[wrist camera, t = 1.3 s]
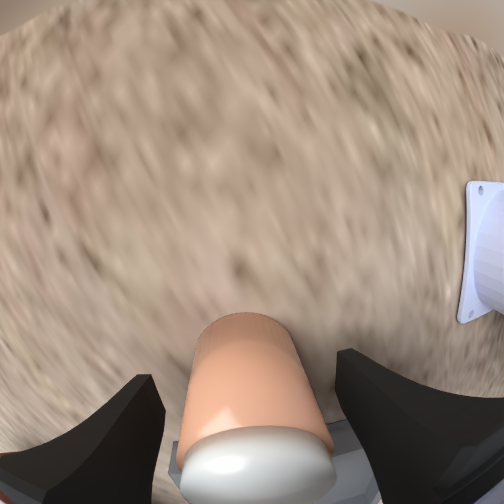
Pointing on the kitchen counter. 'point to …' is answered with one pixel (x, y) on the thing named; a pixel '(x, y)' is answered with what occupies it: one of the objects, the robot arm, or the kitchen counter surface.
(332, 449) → the shaker
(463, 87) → the kitchen counter surface
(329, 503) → the tray
